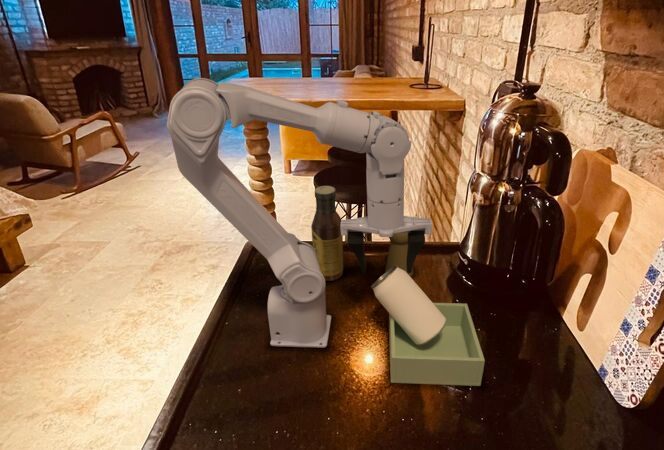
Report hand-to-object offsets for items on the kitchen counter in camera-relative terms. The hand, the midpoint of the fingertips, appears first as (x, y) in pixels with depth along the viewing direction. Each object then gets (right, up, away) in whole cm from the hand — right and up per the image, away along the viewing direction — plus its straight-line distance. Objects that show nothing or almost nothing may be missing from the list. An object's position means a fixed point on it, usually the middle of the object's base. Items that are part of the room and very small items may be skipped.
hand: (386, 269), depth 69 cm
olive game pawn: (+4, -3, +19) cm, 19 cm away
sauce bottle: (-11, -3, +18) cm, 21 cm away
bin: (+7, -13, -3) cm, 15 cm away
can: (+7, -10, -3) cm, 13 cm away
